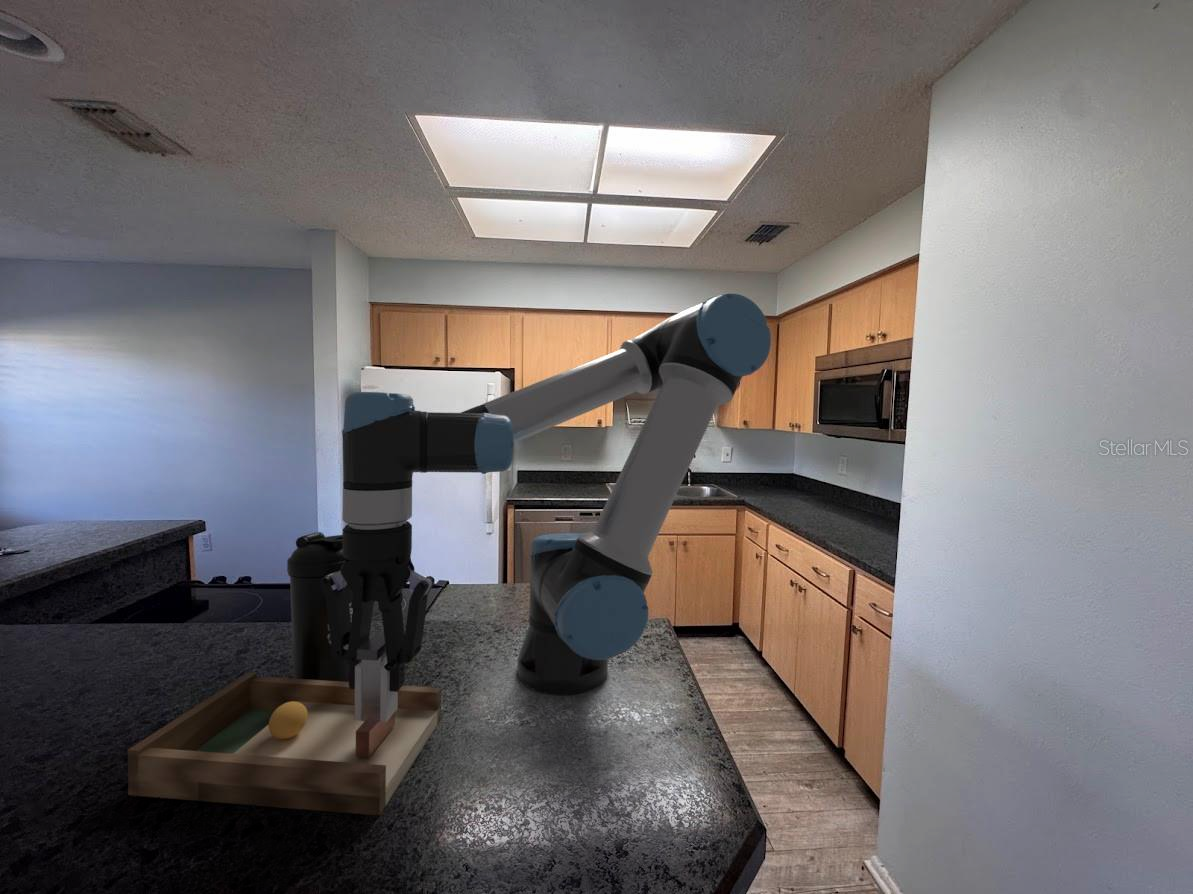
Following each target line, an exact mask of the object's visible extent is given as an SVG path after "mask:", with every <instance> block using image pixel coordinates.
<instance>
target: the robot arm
mask: <svg viewBox="0 0 1193 894" xmlns="http://www.w3.org/2000/svg"><path fill="white" fill-rule="evenodd" d="M771 337H772V334H771V329H770V327H769V326H768V324H767V318H766V316H765V314H764V313H763V311H762V310H761V308H760V307H759V306H758V305H757V304H756V302H754V301H752V300H751V299H750V298H748V297H746V296H745V295H742V294H740V293H739V294H738V293H733V292H732V293H724V294H720V295H715V296H710V297H708V298H707V299H706V298H705V300H704V301H703V302H701V303H698V304H697V305H695V306H692V307H689V308H687V309H685V310H683V311H680V312H679V313H676V314H674V315H671V316H670V317H668V318H667V319H664V320H663V321H662V322H660V323H658V324H657V325H654V327H652V328H650V329H648V330H646V331H645V332H643V333H641V334H639V335H637V336H635V337H632V338H630V339H628V340H625V341H623V342H622V343H621V345H620V349H618V350H616V351H614V352H613V351H612V352H611V353H609V354H605V355H603V356H601V357H598V358H596V359H593V360H590V361H589V362H585V363H583V364H580V365H578V366H576V367H572V368H571V369H568V370H565V371H562V372H560V373H558V374H555V375H552V376H550V377H547V378H545V379H542V380H540V381H537V382H535V383H532V384H529V385H527V386H525V387H522V388H519V389H517V390H515V391H512V392H509V393H507V394H504V395H502V396H499V397H497V398H494V399H491V400H489V401H487V402H484V403H482V404H480V405H477V406H475V407H471V408H469V409H467V410H464V411H461V412H431V411H430V412H428V411H421V410H416V406H414V405H415V404H414V399H413V398H412V396H411V395H409V394H405V393H394V392H393V393H391V392H389V393H388V392H381V391H379V392H378V391H356V392H353V393H351V394H349V395H348V396H347V397H346V399H345V401H344V415H343V416H344V417H343V429H342V430H341V434H342V473H343V474H342V480H343V481H342V521H343V522H344V523H345V524H346V525H344V527H343V528H342V535H343V543H342V554H343V556H344V557H345V560H344V563H343V565H342V567H341V571H339V572H334V573H331V574H329V575H327V576H325V577H323V578H321V579H320V581H319V584H320V586H321V588H322V591H323V593H324V595H325V597H326V604H327V613H328V623H329V632H330V641H331V650H332V656H333V657H334V658H335V659H339V658H342V659H345V660H346V661H347V663H348V664H349V687H350V689H355V720H360V721H361V711H362V660H357V649H358V648H359V647H361V646H362V645H363V644H364V643H365V642H367V641H368V640H369V639H370V635H371V628H372V619H373V612H374V604H375V602H376V603H377V605H378V610H379V611H380V612H381V617H382V618H381V619H382V628H383V633H384V638H385V647H386V656H387V663H386V664H384V665H383V666H382V667H381V688H380V722H387V721H388V720H389V718H390V717H391V716H392V715H393V714H394V712H395V711H396V710H397V709H398V690H399V689H400V688H401V687H402V686H404V684H405V676H406V675H405V674H406V672H405V667H406V665H405V664H409V663H411V662H412V661H413V660H414V659H415V657H416V656H418V655H419V654H420V652H421V650H422V644H423V635H424V630H425V628H424V627H425V620H426V615H427V614H426V612H427V605H428V598H429V594H430V592H431V590H432V588H433V587H434V584H435V578H434V577H433V576H431V575H429V576H426V577H425V576H424V575H421V574H420V573H418V572H416V571H415V565H414V564H413V561H412V559H411V558H412V557H411V556H412V550H413V549H412V548H413V545H412V544H413V525H412V524H411V522H410V521H409V520H410V519H411V518H412V516H413V474H414V473H421V474H423V473H425V474H426V473H481V474H482V475H485V474H488V473H500V472H501V473H502V472H505V471H507V470H509V469H510V467H511V465H512V462H513V458H514V450H515V449H514V448H515V445H514V444H515V443H517V442H520V441H523V440H524V439H525V440H526V439H527V438H529V437H532V436H534V435H537V434H539V433H542V432H544V431H546V430H548V429H550V428H553V427H556V426H558V425H560V424H563V423H566V422H567V421H570V420H572V419H574V418H577V417H580V416H582V415H584V414H586V413H589V412H591V411H594V410H596V409H598V408H601V407H603V406H606V405H609V404H611V403H612V402H615V401H617V400H619V399H622V398H624V397H626V396H629V395H631V394H634V393H638V394H640V395H646V394H648V393H651V392H653V391H655V390H658V389H659V391H658V393H657V395H656V396H655V397H656V398H655V399H654V402H653V404H652V406H651V408H650V410H649V412H648V415H647V416H646V418H645V421H644V422H643V425H642V427H641V429H640V431H639V434H638V435H637V438H636V439H635V441H634V443H633V446H632V448H631V450H630V452H629V454H628V456H627V458H626V460H625V463H624V465H623V467H622V469H621V471H620V473H619V475H618V477H617V479H616V482H615V483H614V486H613V488H612V490H611V493H610V494H609V496H608V499H607V501H606V502H605V505H604V507H603V509H602V511H601V513H600V515H599V517H598V520H597V522H596V523H595V526H594V527H593V529H591V531H587V532H583V533H579V532H578V533H577V532H567V533H565V532H561V533H550V534H549V533H548V534H543V535H538V536H536V537H535V538H533V540H532V541H531V544H530V552H529V559H530V560H529V561H530V565H529V566H530V567H529V569H530V571H529V613H528V614H529V620H528V621H529V622H528V628H527V630H526V634H525V636H524V639H523V642H522V645H521V647H520V650H519V653H518V657H517V676H518V679H519V680H520V681H521V683H523V685H525V686H527V687H528V688H529V689H532V690H534V691H536V692H540V693H544V694H547V695H548V694H549V695H561V696H562V695H575V694H579V693H584V692H587V691H589V690H593V689H594V688H596V687H597V686H599V685H601V684H602V683H603V682H604V681H605V679H606V678H607V675H608V671H609V670H608V667H609V666H608V665H609V662H608V661H609V660H610V659H613V658H614V657H617V656H619V655H622V654H624V653H626V652H628V651H629V650H630V649H631V648H632V647H634V645H635V644H636V643H637V642H638V641H639V640H640V638H641V637H642V636H643V634H644V632H645V629H646V627H647V624H648V621H649V611H650V610H649V606H648V601H647V598H646V595H645V591H646V590H647V587H648V585H649V583H650V580H651V579H652V576H653V569H652V566H651V563H650V560H649V556H650V553H651V551H652V550H653V547H654V545H655V542H656V540H657V538H658V536H659V534H660V532H661V529H662V527H663V525H664V523H665V520H666V518H667V516H668V514H669V511H670V509H671V507H672V506H673V503H674V501H675V498H677V497H676V496H677V494H678V492H679V489H680V488H681V486H682V483H683V481H684V479H685V477H686V475H687V472H688V470H689V468H690V466H691V464H692V461H693V459H694V457H695V455H696V452H697V451H698V449H699V447H700V445H701V442H702V439H703V437H704V436H705V433H706V431H707V429H708V427H709V424H710V423H711V420H712V418H713V416H714V413H715V412H716V409H717V408H718V407H720V406H723V405H726V404H728V403H730V402H732V399H734V395H735V394H736V391H737V389H738V387H739V385H740V382H741V380H742V378H743V377H747V376H750V375H752V374H754V373H755V372H757V371H758V370H759V369H761V367H763V365H764V364H765V362H766V361H767V359H768V357H769V355H770V351H771V346H772V344H771V343H772V338H771ZM408 583H409V590H408V592H409V594H410V595H411V596H410V598H409V602H408V609H407V616H406V623H405V624H406V625H404V617H403V616H404V615H403V607H402V602H403V599H404V597H403V596H404V595H403V589H404V588H405V587H406V585H407V584H408ZM347 584H348V585H349V587H350V588H351V590H352V591H353V595H352V603H351V608H352V609H353V613H352V620H351V617H350V607H349V598H348V590H347V587H346V585H347Z"/></svg>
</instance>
